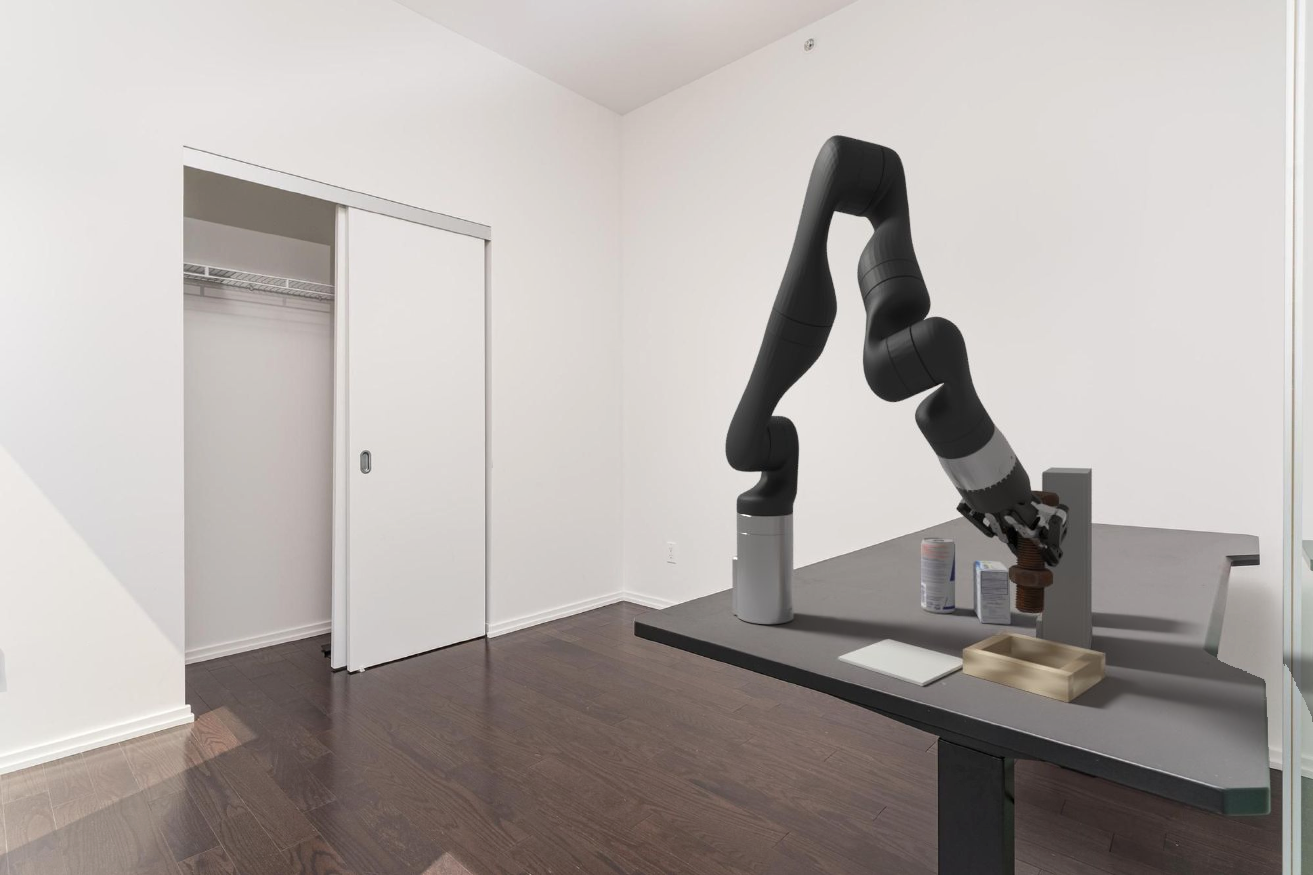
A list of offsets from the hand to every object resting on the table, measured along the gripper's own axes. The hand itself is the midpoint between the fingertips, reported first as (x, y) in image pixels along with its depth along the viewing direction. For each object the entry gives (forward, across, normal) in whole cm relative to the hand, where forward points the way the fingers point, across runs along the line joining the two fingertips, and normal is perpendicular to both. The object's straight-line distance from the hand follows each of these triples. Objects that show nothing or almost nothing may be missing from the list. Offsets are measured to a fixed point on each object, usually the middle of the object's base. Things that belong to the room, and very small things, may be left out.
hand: (1040, 558), depth 84 cm
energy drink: (+21, +26, +1) cm, 33 cm away
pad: (+2, +11, +19) cm, 22 cm away
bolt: (+3, 0, +6) cm, 7 cm away
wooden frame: (+9, 0, +11) cm, 15 cm away
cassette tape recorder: (+20, +4, +1) cm, 21 cm away
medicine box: (+23, +18, -2) cm, 29 cm away
